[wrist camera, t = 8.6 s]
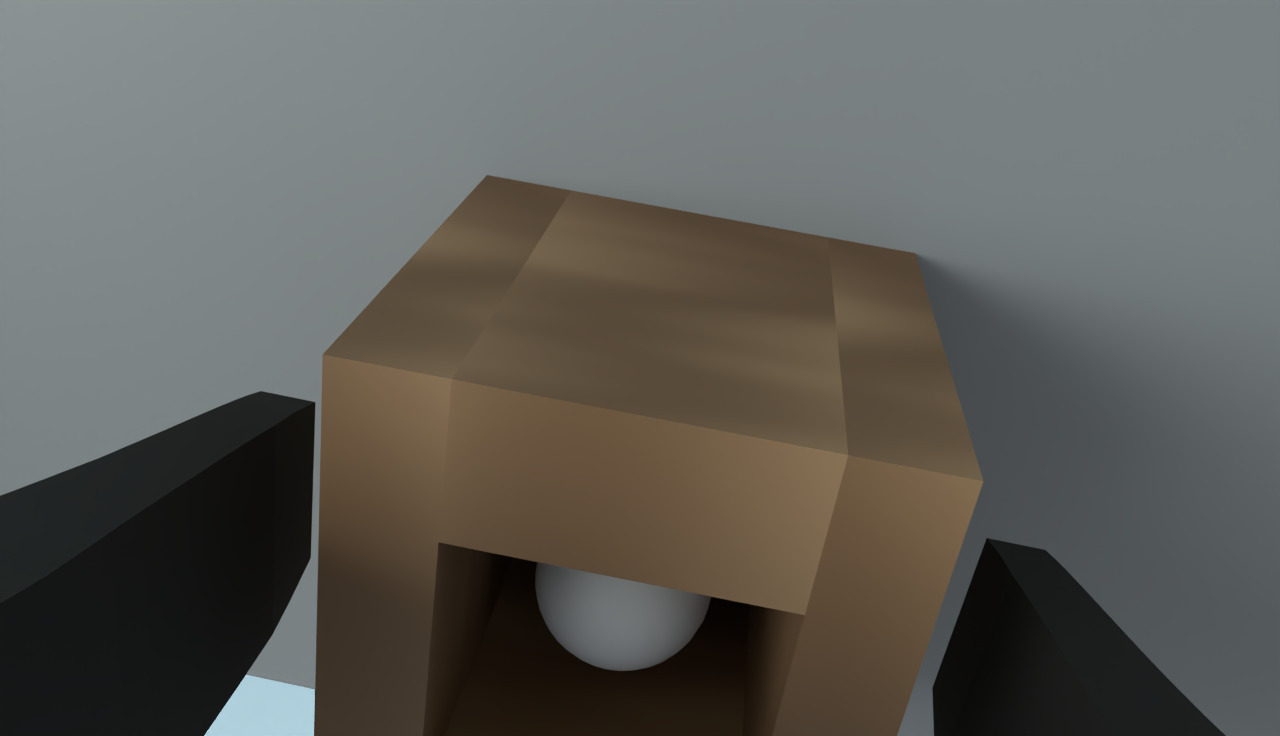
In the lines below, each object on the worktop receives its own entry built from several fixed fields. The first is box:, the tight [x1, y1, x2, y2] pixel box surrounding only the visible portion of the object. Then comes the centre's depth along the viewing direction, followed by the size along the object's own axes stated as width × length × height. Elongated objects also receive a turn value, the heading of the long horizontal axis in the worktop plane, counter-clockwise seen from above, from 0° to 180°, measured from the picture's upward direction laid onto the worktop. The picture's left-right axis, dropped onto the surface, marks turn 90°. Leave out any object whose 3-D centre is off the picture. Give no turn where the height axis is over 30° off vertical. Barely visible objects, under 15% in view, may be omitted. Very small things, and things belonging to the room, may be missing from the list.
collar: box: [314, 175, 983, 736], centre depth 12 cm, size 5×6×5 cm
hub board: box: [0, 0, 1280, 736], centre depth 12 cm, size 20×14×5 cm
